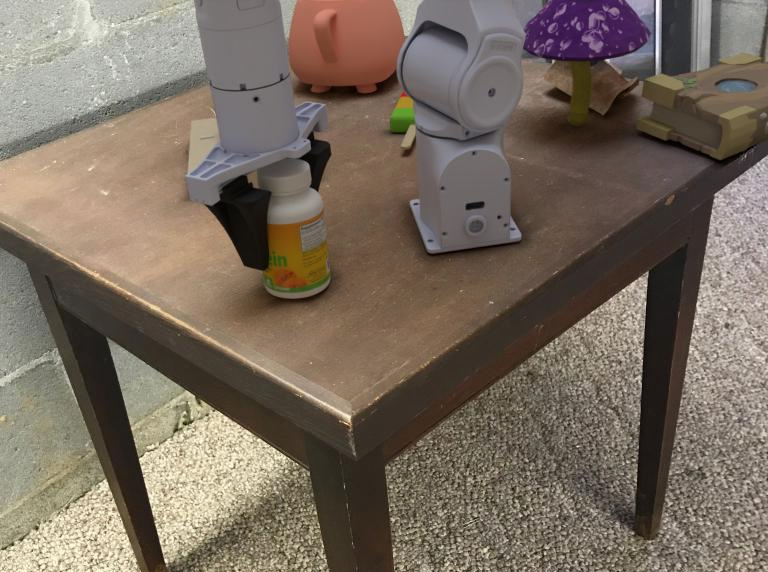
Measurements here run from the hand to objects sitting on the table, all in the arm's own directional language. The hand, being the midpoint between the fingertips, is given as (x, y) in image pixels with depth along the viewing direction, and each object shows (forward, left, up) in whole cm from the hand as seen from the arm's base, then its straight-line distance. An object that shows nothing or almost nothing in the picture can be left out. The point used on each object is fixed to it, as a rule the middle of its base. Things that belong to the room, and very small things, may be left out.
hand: (278, 248), depth 70 cm
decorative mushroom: (+22, -32, -3) cm, 39 cm away
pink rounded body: (+46, -11, -3) cm, 47 cm away
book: (+17, -46, -3) cm, 49 cm away
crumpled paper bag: (+28, -33, +1) cm, 44 cm away
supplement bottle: (-1, -1, -3) cm, 3 cm away
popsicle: (+28, -16, -3) cm, 33 cm away
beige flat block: (+25, +2, -3) cm, 25 cm away
